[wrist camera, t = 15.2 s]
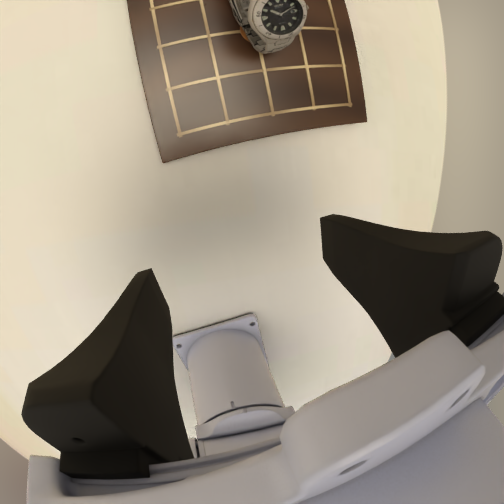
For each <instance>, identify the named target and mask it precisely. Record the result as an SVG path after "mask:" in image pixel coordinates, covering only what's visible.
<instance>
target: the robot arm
mask: <svg viewBox="0 0 504 504" xmlns="http://www.w3.org/2000/svg"><path fill="white" fill-rule="evenodd" d="M320 224H321V236H322V251H323V259H324V261H325V262H326V264H327V266H328V267H329V269H330V270H331V271H332V273H333V274H334V276H335V277H336V278H337V279H338V280H339V281H340V282H341V284H342V285H343V286H344V287H345V288H346V289H347V290H348V291H349V292H350V293H351V295H352V296H353V297H354V298H355V299H356V300H357V301H358V302H359V303H360V305H361V306H362V307H363V308H364V309H365V310H366V312H367V313H368V314H369V316H370V317H371V319H372V320H373V322H374V323H375V325H376V326H377V328H378V329H379V331H380V332H381V334H382V335H383V337H384V339H385V340H386V342H387V344H388V345H389V347H390V349H391V351H392V353H393V355H394V356H395V358H394V359H393V360H391V361H389V362H387V363H385V364H383V365H382V366H380V367H378V368H376V369H374V370H372V371H370V372H368V373H366V374H364V375H362V376H360V377H358V378H356V379H354V380H352V381H350V382H348V383H346V384H343V385H341V386H339V387H337V388H335V389H332V390H330V391H328V392H326V393H325V394H323V395H321V396H319V397H317V398H316V399H314V400H312V401H310V402H308V403H306V404H304V405H303V406H302V407H301V408H300V409H299V410H297V411H296V412H295V411H294V409H293V407H292V406H289V407H285V405H284V403H283V401H282V398H281V396H280V394H279V391H278V389H277V386H276V384H275V382H274V379H273V377H272V375H271V372H270V369H269V365H268V361H267V357H266V354H265V350H264V346H263V342H262V338H261V334H260V330H259V326H258V322H257V318H256V316H255V315H254V314H248V315H245V316H241V317H238V318H235V319H232V320H229V321H225V322H222V323H219V324H216V325H212V326H209V327H206V328H202V329H199V330H195V331H192V332H188V333H185V334H181V335H178V336H174V337H173V338H172V323H171V317H170V310H169V306H168V304H167V302H166V300H165V298H164V295H163V293H162V291H161V289H160V286H159V284H158V282H157V280H156V277H155V275H154V273H153V271H152V268H150V269H147V270H144V271H141V272H138V273H137V274H136V275H135V276H134V278H133V279H132V280H131V282H130V283H129V285H128V286H127V287H126V289H125V290H124V292H123V293H122V295H121V296H120V298H119V299H118V300H117V302H116V303H115V304H114V306H113V307H112V308H111V310H110V311H109V312H108V314H107V315H106V316H105V318H104V319H103V320H102V321H101V323H100V324H99V325H98V326H97V327H96V328H95V330H94V331H93V332H92V333H91V334H90V335H89V336H88V337H87V338H86V339H85V340H84V341H83V342H82V343H81V344H80V345H79V346H78V347H77V348H76V349H75V350H74V351H73V352H71V353H70V354H69V355H68V356H67V357H66V358H64V359H63V360H62V361H61V362H59V363H58V364H57V365H56V366H54V367H53V368H52V369H50V370H49V371H47V372H46V373H44V374H43V375H41V376H40V377H38V378H37V379H35V380H34V381H32V382H31V383H29V385H28V389H27V393H26V397H25V401H24V405H23V409H22V414H21V415H22V418H23V420H24V422H25V423H26V425H27V426H28V427H29V428H30V429H31V430H32V431H33V432H34V433H35V434H37V435H38V436H39V437H41V438H42V439H43V440H45V441H46V442H47V443H49V444H50V445H52V446H53V447H55V448H56V449H58V450H59V451H61V455H60V459H58V458H55V457H50V456H38V455H30V458H29V468H28V469H29V470H28V483H27V504H504V426H503V425H502V424H501V422H500V421H499V420H498V418H497V417H496V416H495V415H494V413H493V412H492V411H491V410H490V408H489V407H488V406H487V404H488V403H489V402H490V401H491V400H492V399H493V398H494V397H495V396H496V395H497V394H498V392H499V391H500V390H501V389H502V388H503V387H504V293H503V295H501V294H500V293H499V292H497V291H498V289H499V285H498V284H496V283H495V282H494V279H495V276H496V273H497V270H498V266H499V263H500V260H501V255H502V242H501V240H500V238H499V237H497V236H496V235H495V234H493V233H491V232H489V231H479V232H468V233H430V232H419V231H411V230H404V229H398V228H393V227H389V226H384V225H379V224H375V223H371V222H367V221H363V220H359V219H355V218H351V217H347V216H342V215H335V214H332V215H328V216H325V217H321V218H320ZM251 322H253V323H251ZM250 323H251V324H250ZM177 344H181V345H177ZM173 346H174V348H175V350H176V351H177V353H178V355H179V357H180V358H181V360H182V362H183V363H184V365H185V367H186V368H187V370H188V372H189V377H190V384H191V390H192V396H193V402H194V408H195V414H196V419H197V425H196V426H195V429H196V434H197V439H196V438H189V439H188V437H187V433H186V429H185V426H184V422H183V418H182V414H181V410H180V405H179V401H178V396H177V391H176V385H175V379H174V366H173ZM197 440H198V441H197Z"/></svg>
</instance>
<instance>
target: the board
mask: <svg viewBox="0 0 504 504" xmlns="http://www.w3.org/2000/svg"><path fill="white" fill-rule="evenodd" d="M304 1H305V3H306V5H308V7H309V9H308V10H307V16H306V20H305V23H304V26H303V28H302V29H301V31H300V33H299V34H298V35H297V36H295V38H294V40H293V42H292V43H291V44H290V45H289V46H287V47H285V48H283V49H282V50H280V51H277V52H273V53H266V54H263V53H260V52H258V51H256V50H255V49H254V48H253V46H252V44H251V42H250V41H249V40H248V38H247V36H246V34H245V32H244V30H243V29H242V27H241V26H240V25H239V24H238V22H237V21H236V19H235V18H234V15H233V14H234V13H233V11H232V10H233V9H232V7H231V6H230V3H229V0H127V4H128V11H129V17H130V23H131V29H132V34H133V39H134V45H135V50H136V55H137V60H138V65H139V69H140V74H141V79H142V83H143V88H144V92H145V96H146V100H147V105H148V109H149V113H150V117H151V121H152V125H153V129H154V133H155V136H156V140H157V144H158V148H159V151H160V155H161V159H162V162H163V163H166V162H169V161H172V160H176V159H179V158H183V157H186V156H189V155H193V154H197V153H200V152H204V151H208V150H212V149H215V148H219V147H223V146H227V145H232V144H236V143H240V142H245V141H249V140H254V139H258V138H263V137H268V136H273V135H279V134H284V133H290V132H295V131H301V130H307V129H314V128H321V127H328V126H336V125H344V124H353V123H362V122H367V116H366V107H365V99H364V92H363V85H362V79H361V73H360V67H359V61H358V56H357V51H356V46H355V41H354V36H353V32H352V28H351V24H350V19H349V16H348V12H347V8H346V4H345V1H344V0H304Z"/></svg>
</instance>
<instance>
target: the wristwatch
mask: <svg viewBox="0 0 504 504" xmlns="http://www.w3.org/2000/svg"><path fill="white" fill-rule="evenodd" d="M229 3H230V6H231V7H232V9H233V10H232V11H233V13H234V14H233V15H234V18H235V19H236V21H237V22H238V24H239V25H240V26H241V27H242V29H243V30H244V32H245V34H246V36H247V38H248V40H249V41H250V42H251V44H252V46H253V48H254V49H255V50H256V51H258V52H260V53H263V54H266V53H273V52H277V51H280V50H282V49H283V48H285V47H287V46H289V45H290V44H291V43H292V42H293V40H294V38H295V36H297V35H298V34H299V33H300V31H301V29H302V28H303V26H304V23H305V20H306V16H307V10H308V9H309V7H308V5H306V3H305V1H304V0H229Z"/></svg>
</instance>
